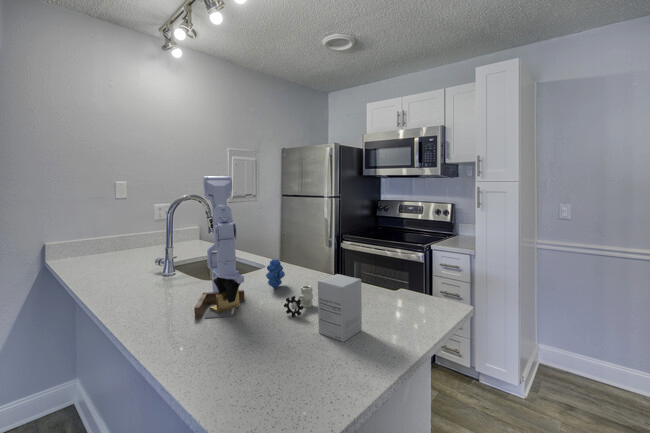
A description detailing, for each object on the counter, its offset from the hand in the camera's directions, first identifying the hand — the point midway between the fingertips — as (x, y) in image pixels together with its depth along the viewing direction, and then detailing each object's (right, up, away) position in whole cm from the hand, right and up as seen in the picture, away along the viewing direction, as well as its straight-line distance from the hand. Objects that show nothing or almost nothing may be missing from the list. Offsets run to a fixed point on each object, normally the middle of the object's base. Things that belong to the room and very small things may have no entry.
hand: (228, 300), depth 107 cm
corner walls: (-3, -3, +2) cm, 5 cm away
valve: (+24, -3, 0) cm, 24 cm away
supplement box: (+36, -5, -16) cm, 39 cm away
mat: (-2, -3, 0) cm, 4 cm away
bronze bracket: (-2, -3, +2) cm, 4 cm away
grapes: (+13, -1, +22) cm, 25 cm away
